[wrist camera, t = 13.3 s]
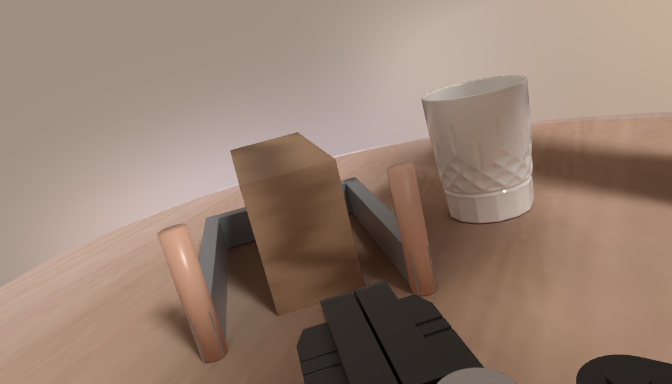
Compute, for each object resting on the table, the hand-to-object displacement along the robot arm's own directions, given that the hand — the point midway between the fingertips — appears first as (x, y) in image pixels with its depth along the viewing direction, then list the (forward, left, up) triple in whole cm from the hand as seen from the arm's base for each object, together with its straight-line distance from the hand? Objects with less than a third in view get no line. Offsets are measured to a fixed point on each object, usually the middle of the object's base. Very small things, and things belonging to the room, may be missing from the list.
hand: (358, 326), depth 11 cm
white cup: (-16, -27, -10) cm, 33 cm away
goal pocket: (0, -26, -10) cm, 28 cm away
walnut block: (0, -27, -10) cm, 29 cm away
